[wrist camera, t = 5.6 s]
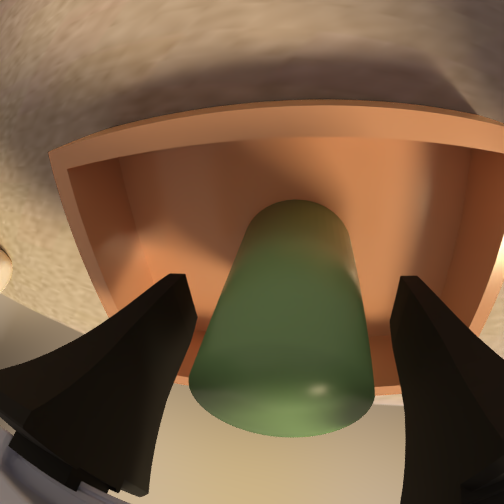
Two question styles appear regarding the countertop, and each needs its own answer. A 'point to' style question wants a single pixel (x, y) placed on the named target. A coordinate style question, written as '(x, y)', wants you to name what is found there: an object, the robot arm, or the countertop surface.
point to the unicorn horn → (5, 270)
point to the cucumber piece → (288, 329)
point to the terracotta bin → (289, 188)
